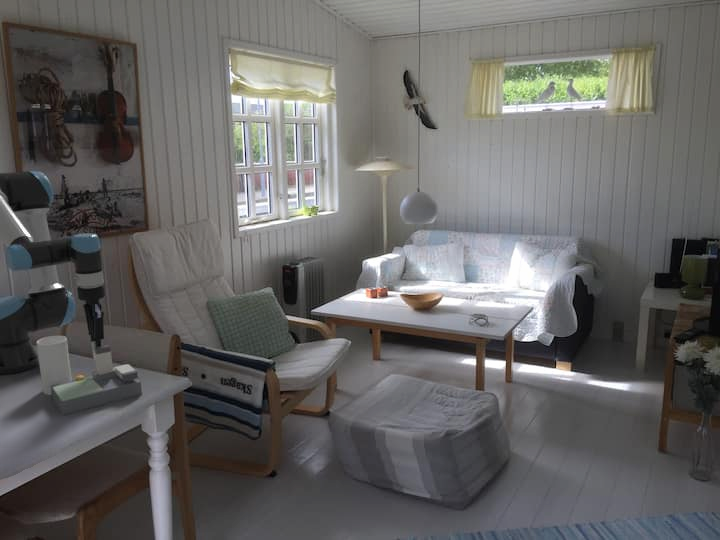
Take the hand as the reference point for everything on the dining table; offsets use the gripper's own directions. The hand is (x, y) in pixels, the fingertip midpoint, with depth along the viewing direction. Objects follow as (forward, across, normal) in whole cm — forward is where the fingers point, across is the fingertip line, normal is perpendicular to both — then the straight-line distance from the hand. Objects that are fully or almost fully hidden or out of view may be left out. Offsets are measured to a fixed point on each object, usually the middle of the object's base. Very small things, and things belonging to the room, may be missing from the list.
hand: (98, 359), depth 195 cm
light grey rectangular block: (+3, +6, 0) cm, 6 cm away
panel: (+9, +8, -4) cm, 12 cm away
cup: (+9, -5, -12) cm, 15 cm away
